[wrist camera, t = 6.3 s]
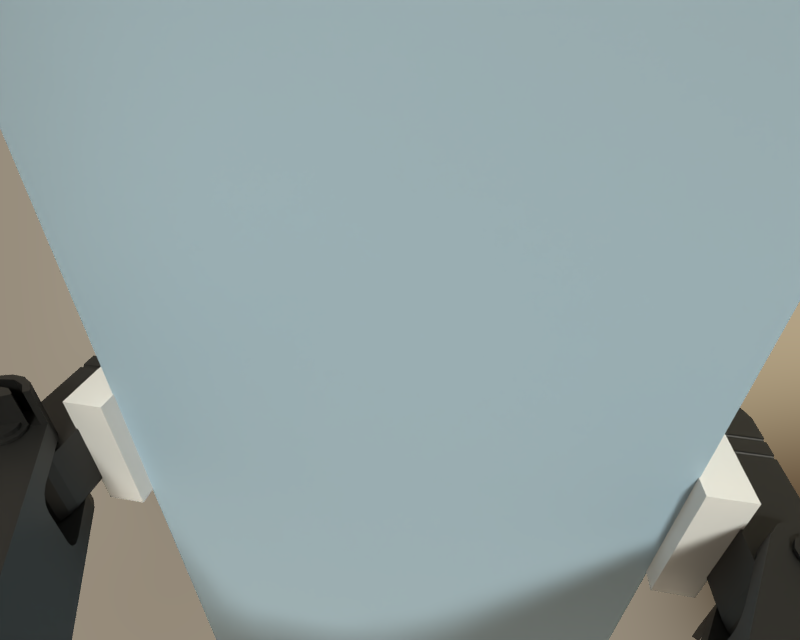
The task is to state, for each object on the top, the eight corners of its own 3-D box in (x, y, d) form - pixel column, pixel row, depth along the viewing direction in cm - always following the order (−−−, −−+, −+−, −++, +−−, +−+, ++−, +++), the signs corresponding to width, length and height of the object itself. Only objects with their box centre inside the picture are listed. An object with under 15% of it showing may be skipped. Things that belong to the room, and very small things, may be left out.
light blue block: (202, -70, 10) (-114, -142, 5) (727, -68, 9) (1061, -164, 3) (291, 472, 19) (217, 642, 14) (547, 513, 18) (565, 715, 13)
